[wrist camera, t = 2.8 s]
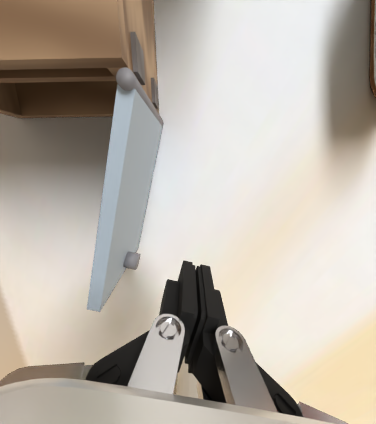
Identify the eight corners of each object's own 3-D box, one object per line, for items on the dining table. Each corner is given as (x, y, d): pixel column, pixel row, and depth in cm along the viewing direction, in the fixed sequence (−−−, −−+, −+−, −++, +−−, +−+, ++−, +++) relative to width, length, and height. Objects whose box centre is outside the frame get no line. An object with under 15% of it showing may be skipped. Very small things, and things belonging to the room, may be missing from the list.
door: (174, 122, 21) (158, 76, 10) (147, 249, 25) (114, 318, 14) (155, 116, 21) (117, 65, 10) (131, 245, 25) (84, 312, 14)
